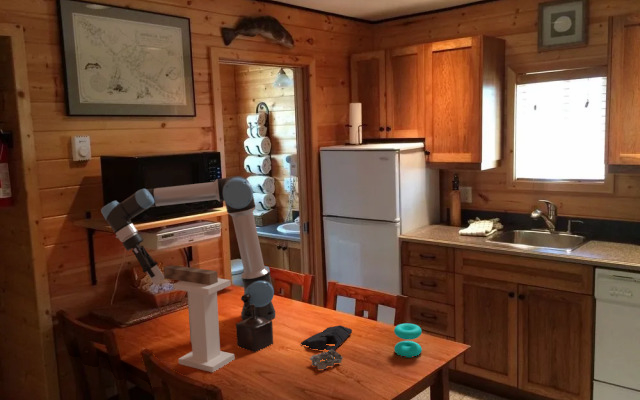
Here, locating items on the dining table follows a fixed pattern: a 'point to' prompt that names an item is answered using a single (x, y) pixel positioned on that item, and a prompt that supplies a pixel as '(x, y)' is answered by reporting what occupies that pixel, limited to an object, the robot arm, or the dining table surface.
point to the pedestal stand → (204, 326)
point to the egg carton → (324, 356)
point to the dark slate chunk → (328, 338)
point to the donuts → (408, 333)
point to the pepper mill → (253, 330)
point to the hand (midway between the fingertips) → (160, 281)
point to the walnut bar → (191, 274)
